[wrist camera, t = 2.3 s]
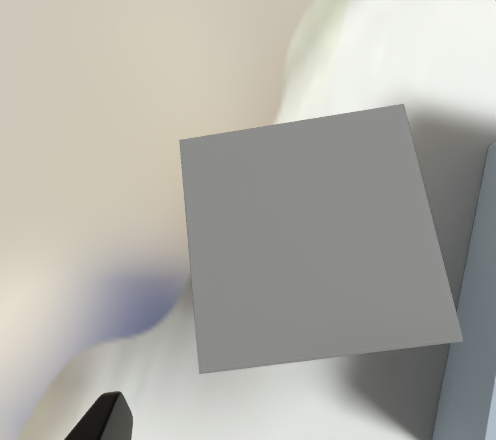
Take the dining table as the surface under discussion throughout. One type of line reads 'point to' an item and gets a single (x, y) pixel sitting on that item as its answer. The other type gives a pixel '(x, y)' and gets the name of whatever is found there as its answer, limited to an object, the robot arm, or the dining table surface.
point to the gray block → (312, 242)
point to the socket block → (474, 331)
